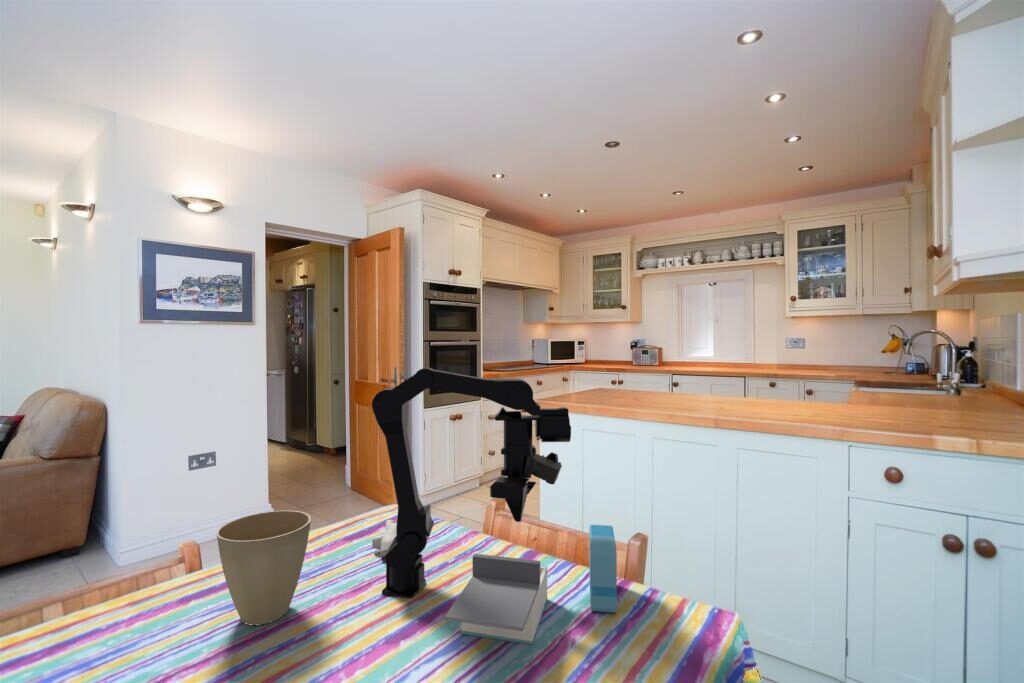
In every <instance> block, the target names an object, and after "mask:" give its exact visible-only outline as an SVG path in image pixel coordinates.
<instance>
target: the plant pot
mask: <svg viewBox="0 0 1024 683" xmlns="http://www.w3.org/2000/svg"><path fill="white" fill-rule="evenodd" d="M311 522H312V517H311V515H310V514H308V513H306V512H304V511H303V512H302V511H298V510H272V511H271V510H270V511H264V512H259V513H253V514H249V515H245V516H242V517H238V518H236V519H233V520H230V521H228V522H227V523H225V524H224V525H222V526H220V527H219V528H218V530H217V531H216V538H217V545H218V552H219V558H220V563H221V568H222V572H223V575H224V579H225V582H226V585H227V588H228V591H229V594H230V597H231V600H232V602H233V605H234V607H235V610H236V611H237V614H238V616H239V618H240V620H241V622H242V621H243V622H244V623H247V624H252V625H251V626H253V625H256V624H257V625H256V626H259V625H258V624H264V623H268V624H270V623H269V622H271V621H273V622H275V621H274V620H276V619H278V618H279V619H281V618H282V617H284V616H285V615H286V614H287V612H288V611H289V608H290V606H291V603H292V600H293V598H294V594H295V593H296V592H295V591H296V589H297V585H298V583H299V580H300V576H301V573H302V569H303V565H304V562H305V556H306V552H307V547H308V542H309V541H308V540H309V536H310V529H311ZM285 613H286V614H285ZM284 614H285V615H284ZM283 615H284V616H283ZM280 617H281V618H280ZM279 619H278V620H279ZM276 621H277V620H276ZM243 622H242V623H243ZM244 623H243V624H244ZM271 623H272V622H271ZM247 624H246V625H247ZM264 625H265V624H264Z"/></svg>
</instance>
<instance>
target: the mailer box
mask: <svg viewBox="0 0 1024 683" xmlns="http://www.w3.org/2000/svg"><path fill="white" fill-rule="evenodd" d="M547 601H548V566H543V565H540V586H539V589H538V592H537V594H536V597H535V600H534V602H533V605H532V607H531V610H530V613H529V615H528V618H527V621H526V623H525V626H524V629H523V631H517V630H510V629H503V628H497V627H490V626H483V625H477V624H470V623H463V622H461V634H462V635H469V636H476V637H482V638H487V639H488V638H489V639H494V640H501V641H506V642H507V641H508V642H513V643H514V642H515V643H520V644H521V643H522V644H526V645H533V644H534V641H535V638H536V635H537V633H538V630H539V626H540V622H541V619H542V618H543V614H544V610H545V607H546V605H547Z"/></svg>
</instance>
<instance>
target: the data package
mask: <svg viewBox="0 0 1024 683" xmlns="http://www.w3.org/2000/svg"><path fill="white" fill-rule="evenodd" d="M588 528H589V538H588V539H589V544H588V545H589V552H588V553H589V557H588V558H589V559H588V560H589V564H588V565H589V569H588V570H589V571H588V572H589V575H588V576H589V596H590V598H589V599H590V600H589V601H590V610H591V612H599V613H601V612H602V613H614V614H615V613H617V611H618V610H617V609H618V607H617V605H618V604H617V602H618V598H617V596H618V592H617V590H618V588H617V587H618V584H617V580H618V579H617V575H618V572H617V571H618V570H617V568H618V566H617V562H618V560H617V557H618V555H617V544H616V539H615V533H614V528H613V525H601V524H589V527H588Z"/></svg>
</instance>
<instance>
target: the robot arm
mask: <svg viewBox="0 0 1024 683" xmlns="http://www.w3.org/2000/svg"><path fill="white" fill-rule="evenodd" d="M427 389H431V390H436V391H443V392H447V393H448V392H449V393H454V394H461V395H466V396H470V397H471V396H472V397H477V398H483V399H486V400H489V401H492V402H493V403H496V404H499V405H501V406H502V407H501V408H500V410H499V411H498V412H497V413H496V414H495V415H494V420H495V421H496V422H497V421H498V422H499V421H500V422H501V421H502V422H503V446H502V448H500V455H503V468H502V469H501V470H500V476H499V477H498V478H497V479H496V480H495V481H494V482H493V483H492V484H491V485H489V486H490V487H489V492H490V493H489V497H491V498H492V499H503V500H505V502H506V504H507V507H508V508H509V511H510V513H511V516H512V518H513V519H514V522H517V523H520V522H521V521H522V519H523V514H524V510H525V507H526V500H527V497H528V495H529V494H530V492H531V491H532V489H533V488H534V487H535V486H536V484H537V482H536V481H530V479H531V478H532V475H533V476H534V477H536V478H538V479H539V480H543V481H545V482H546V484H550V485H555V484H556V481H557V480H558V477H559V474H560V472H561V469H562V466H563V465H562V462H560V461H559V456H558V453H555V452H549V453H548V454H547V455H546V456H545V455H543V454H541V455H540V454H538V453H537V448H536V446H535V445H533V421H535V422H534V431H535V433H534V434H535V437H536V438H539V440H540V441H541V443H570V442H571V437H572V425H571V422H570V416H569V415H570V414H569V408H567V407H562V406H561V407H557V408H556V407H555V408H541V405H540V404H539V402H536V401H535V400H534V391H533V389H532V387H531V385H530V384H529V383H528V382H527V381H526V380H525V379H522V378H518V377H517V378H484V377H478V376H472V375H467V374H460V373H455V372H449V371H444V370H438V369H434V368H431V367H424V368H420V369H419V370H417V371H416V373H414V374H413V375H411V376H409V378H407V379H405V380H404V381H403V382H401V383H400V384H398V385H397V386H391V387H388V388H386V389H382V390H380V391H378V393H376V394H375V395H374V397H373V399H372V401H371V409H372V411H373V414H374V418H375V419H376V423H377V425H378V426H379V428H380V430H381V431H382V433H383V435H384V438H385V442H386V447H387V452H388V453H387V454H388V458H389V464H390V469H391V471H390V472H391V475H392V480H393V487H394V494H395V499H396V503H397V516H396V517H397V518H396V523H397V526H396V533H397V536H396V537H395V538H394V540H393V541H392V543H391V545H390V547H389V549H388V551H387V553H386V555H385V557H384V560H385V563H386V564H385V567H386V568H385V578H386V579H385V585H386V586H384V588H383V589H382V590H381V594H382V595H388V596H394V597H403V598H409V599H411V598H413V597H414V596H415V595H416V594H417V593H418V592H419V591H420V589H421V588H422V587H423V586H424V585H425V584H426V580H427V579H426V578H425V563H424V562H423V554H422V552H423V551H424V549H425V548H426V546H427V544H428V541H429V538H430V536H431V533H432V530H433V527H434V524H435V522H434V520H433V518H432V514H431V512H432V510H431V508H432V507H431V504H428V505H425V506H424V505H423V502H422V501H421V499H420V496H419V491H418V490H419V489H418V486H417V479H416V475H415V469H414V463H413V457H412V453H411V452H412V451H411V447H410V442H409V441H410V440H409V436H408V422H409V401H411V400H412V399H414V398H415V397H417V396H419V395H420V394H422V393H423V392H424V391H425V390H427ZM506 407H507V408H510V409H513V410H510V411H509V410H507V409H505V408H506ZM522 410H523V411H524V412H526V413H527V414H529V415H526V414H525V415H523V414H522Z"/></svg>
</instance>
